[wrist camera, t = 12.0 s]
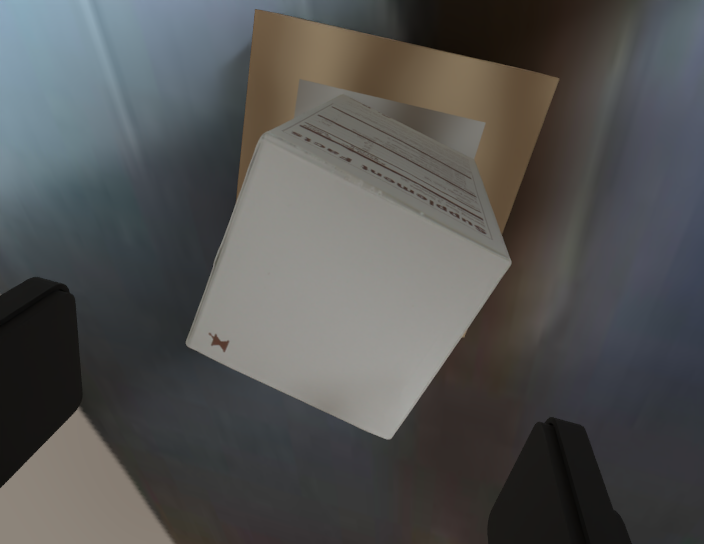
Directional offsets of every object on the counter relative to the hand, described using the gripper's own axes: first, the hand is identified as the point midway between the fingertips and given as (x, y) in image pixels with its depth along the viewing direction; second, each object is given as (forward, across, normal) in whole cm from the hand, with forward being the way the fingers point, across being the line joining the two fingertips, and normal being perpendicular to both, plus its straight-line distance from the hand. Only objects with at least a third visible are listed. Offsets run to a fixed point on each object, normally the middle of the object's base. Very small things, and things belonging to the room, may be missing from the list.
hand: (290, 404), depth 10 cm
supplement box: (+17, 0, +1) cm, 17 cm away
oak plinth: (+21, +1, +1) cm, 21 cm away
